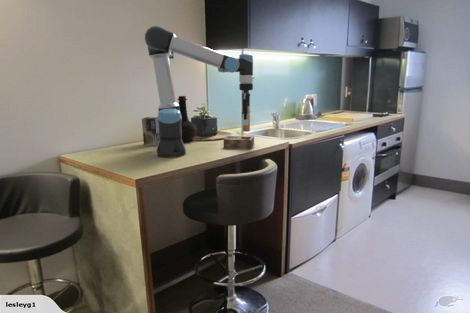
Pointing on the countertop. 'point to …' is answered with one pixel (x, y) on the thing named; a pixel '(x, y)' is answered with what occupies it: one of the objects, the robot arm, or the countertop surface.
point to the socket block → (239, 142)
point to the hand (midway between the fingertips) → (246, 124)
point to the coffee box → (150, 131)
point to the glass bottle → (186, 121)
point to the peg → (247, 127)
